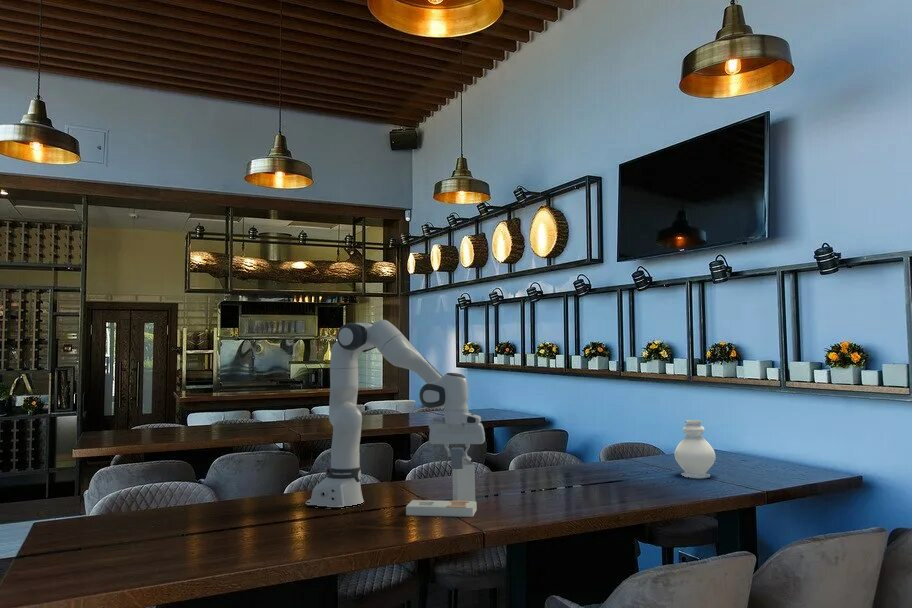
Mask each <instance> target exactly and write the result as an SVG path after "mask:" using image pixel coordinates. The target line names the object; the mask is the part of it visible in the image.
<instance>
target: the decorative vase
mask: <svg viewBox="0 0 912 608" xmlns="http://www.w3.org/2000/svg"><path fill="white" fill-rule="evenodd" d="M684 423H685V425H684V426H683V428H682V431H683V433H684V434H685V435H686V436H684V438H682V440H680V441H679V443H678V444H677V446H676V448H675V449H674V454H673V455H674V459H675V461H676V463H677V464H678V465H679V467H680V468H681V469H682V470H683V472H682V473H680V475H682V476H681V477H683V476H684V477H683V478H688V477H689V478H688V479H707V478H711V474H709V473H707V472H708V471H709V470H710V469H711V467H712V466H713V465H714V463H715V462H716V457H717V455H716V452H715V449H714V448H713V446H712V445H711V444H710V442H708V441H707V440H706V439H705V438H704V437H703V436H702V435H703V434H704V433H705V427H704V426H703V425H701V424H703V420H698V419H686V420H684Z"/></svg>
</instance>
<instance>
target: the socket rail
mask: <svg viewBox="0 0 912 608" xmlns="http://www.w3.org/2000/svg"><path fill="white" fill-rule="evenodd" d="M477 506H478V505H477V501H476V500H475V501H459V500H453V499H452V500H430V499H429V500H427V499H426V500H425V499H424V500H423V499H412V500H411V501H410V502H409V503H408V504H407V505H406V506H405V516H424V517H425V516H426V517H429V516H431V517H460V518H461V517H465V518H466V517H469V518H471V517H474V515H475V514H476V512H477V509H478V508H477Z"/></svg>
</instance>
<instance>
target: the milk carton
mask: <svg viewBox="0 0 912 608" xmlns="http://www.w3.org/2000/svg"><path fill="white" fill-rule="evenodd" d="M471 460H472V457H470V456H469V455H467V457H464V468H463V469H451V470H452V500H459V501H476V480H475V479H476V476H475V475H476V473H475V472H476V471H475V469H476V468H475V464H474V462H472V461H471Z"/></svg>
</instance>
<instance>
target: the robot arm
mask: <svg viewBox="0 0 912 608" xmlns="http://www.w3.org/2000/svg"><path fill="white" fill-rule="evenodd" d="M374 349H377V350H378V351H379V353H380V354H381V355H382V357H383V358H384V359H385V360H386V361H387V362H388V363H390V364H391V365H392V366H394V367H397V368H401V369H406V370H409V371H412V372H414V373H415V374H417V375H418V376H419V377H420V378H421V380H422V381H424V382H425V384H423V385H422V386H421V388H420V391H419V395H418V396H419V401H420V402H421V404H422V406H423V407H425V408H426V409H439V408H443V409H444V411H443V412H444V414H443V415H444V416H443V417H433V418H431V419H430V420H429V421H428V429H429V435H428V442H429V443H430V444H431V445H443V446H444V449H445V450H446V452H447V457H448V458H449V457H450V458H451V449H450V448H449V447H450V445H464V447H465V448H466V449H465V450H464V451H463V452H462V454H463V455H462V456H463V457H467V456H468V451H469V449H470V448H471V445H482V444H484V443H485V442H486V432H485V427H484V426H483V423H482V417H481V415H477V414H474V413H471V412H470V411H469V405H468V399H469V389H468V381H467V378H466V376H465V375H463V374H461V373H457V372H447V373H445V374H444V375H442V374H441V373H440V372H439V371H438V370H437V369H436V367H434V366H433V365H432V364H431V363H430V361H428V359H427V358H425V356H423V355H422V354H421V353H420V352H419V351H418V350H417V348H415V347H414V346H413V344H411V342H410V341H409V340H408V338H406V336H405V335H404V334H403V333H402V332H401V331H400V330H399V329H398V328H397V327H396V326H395V325H394V324H392V323H391V322H390V321H389V320H387V319H379V320H377V321H376V322H366V321H365V322H364V321H363V322H362V321H358V322H348V323H345V324H343V325H341V326H340V327H339V329H338V330H337V333H336V342H334V343H333V344H332V346H331V350H330V351H331V352H330V359H329V360H330V361H329V374H330V375H329V377H330V378H329V382H330V385H329V386H330V387H329V388H330V389H329V390H330V391H329V402H328V404H329V405H328V420H329V423H330V425H331V426H332V439H331V446H330V447H331V448H330V465H331V466H329V467H328V468H327V469H326V470H325V474H326V477H325V478H324V479H322V480H321V481H320V482H319V483H317V484H316V486H315V487H313V489H312V492H311V495H310V496H311V498H309V499H308V500H306V501H305V504H307V505H317V506H327V507H344V506H352V505H357V504H361V503H363V502H364V503H365V500H364V498H363V492H362V486H361V485H362V484H361V479H362V471H361V469H362V468H361V467H362V466H361V465H360V464H361V463H360V459H361V457H360V456H361V454H360V443H361V437H362V425H363V424H362V423H363V414H362V412H361V410H360V409H359V408H358V407H357V405H358V402H357V401H358V394H359V393H358V391H359V355H360V353H361V352H362V353H367V352H369V351H372V350H374ZM307 502H310V503H307ZM364 503H363V504H364ZM361 505H362V504H361Z"/></svg>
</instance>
